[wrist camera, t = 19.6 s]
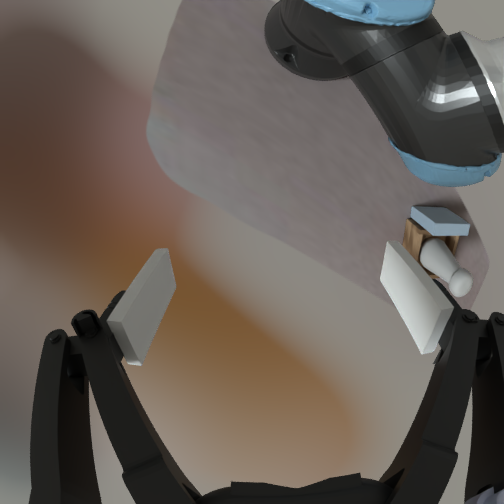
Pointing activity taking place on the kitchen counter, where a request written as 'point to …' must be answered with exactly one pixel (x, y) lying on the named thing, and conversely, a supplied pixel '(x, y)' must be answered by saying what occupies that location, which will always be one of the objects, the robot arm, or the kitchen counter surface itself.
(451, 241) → the open wooden crate
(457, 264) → the salt shaker
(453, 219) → the pale blue lid slab
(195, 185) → the kitchen counter surface
